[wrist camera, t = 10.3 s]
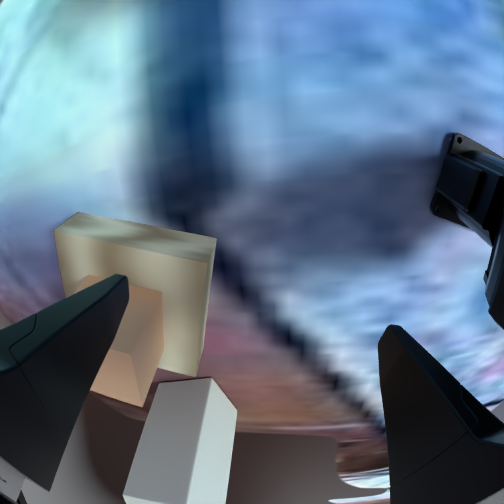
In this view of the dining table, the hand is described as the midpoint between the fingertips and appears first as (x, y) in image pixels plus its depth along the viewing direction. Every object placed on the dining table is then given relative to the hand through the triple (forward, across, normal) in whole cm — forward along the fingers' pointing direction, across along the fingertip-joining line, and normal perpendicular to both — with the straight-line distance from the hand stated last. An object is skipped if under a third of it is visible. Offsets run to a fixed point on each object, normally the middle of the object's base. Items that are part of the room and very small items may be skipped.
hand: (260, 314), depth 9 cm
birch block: (+12, +9, +10) cm, 18 cm away
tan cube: (+8, +9, +10) cm, 16 cm away
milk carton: (+12, +3, +25) cm, 28 cm away
